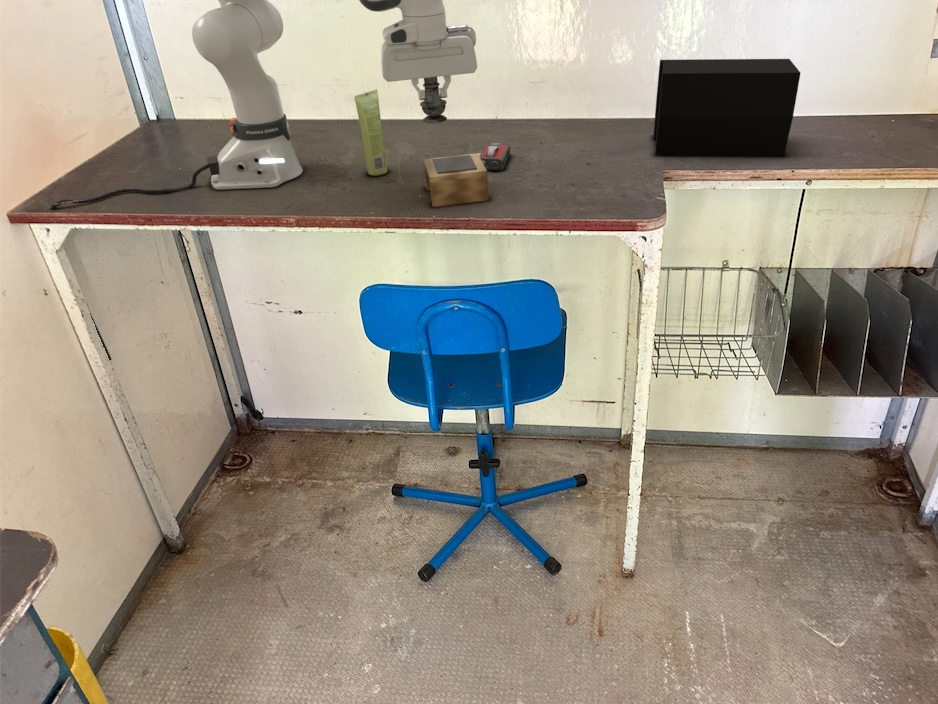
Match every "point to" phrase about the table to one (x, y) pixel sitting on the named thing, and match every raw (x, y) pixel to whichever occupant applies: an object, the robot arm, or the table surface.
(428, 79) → the chess piece
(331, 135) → the table surface
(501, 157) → the walkie-talkie
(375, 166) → the tube
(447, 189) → the stand
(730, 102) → the uninterruptible power supply
